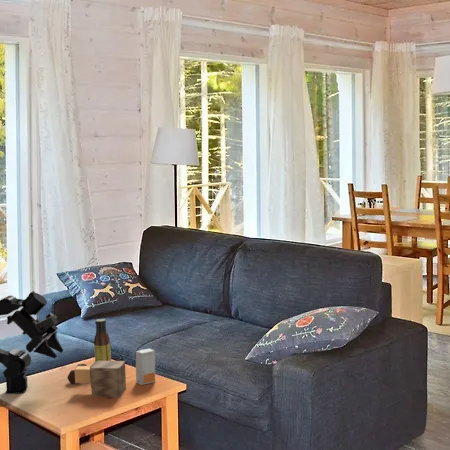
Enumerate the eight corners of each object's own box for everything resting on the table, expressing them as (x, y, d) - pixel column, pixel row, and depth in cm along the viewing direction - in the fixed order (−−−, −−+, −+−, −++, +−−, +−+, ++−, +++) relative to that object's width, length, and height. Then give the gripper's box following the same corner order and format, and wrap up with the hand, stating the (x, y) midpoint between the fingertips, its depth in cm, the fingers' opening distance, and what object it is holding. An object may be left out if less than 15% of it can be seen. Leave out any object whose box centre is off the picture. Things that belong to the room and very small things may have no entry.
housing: (90, 396, 256) (89, 367, 255) (97, 388, 265) (96, 360, 264) (119, 397, 255) (119, 368, 254) (125, 388, 264) (125, 360, 263)
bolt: (85, 376, 285) (77, 387, 270) (74, 370, 285) (65, 381, 270) (92, 363, 285) (84, 374, 270) (81, 357, 285) (72, 367, 270)
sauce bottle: (106, 365, 292) (104, 317, 290) (114, 369, 288) (113, 319, 286) (91, 369, 288) (90, 319, 286) (99, 372, 284) (98, 322, 282)
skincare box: (142, 385, 267) (141, 353, 266) (135, 382, 270) (135, 351, 269) (156, 381, 271) (155, 350, 270) (149, 379, 274) (148, 348, 273)
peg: (75, 383, 258) (74, 369, 258) (78, 379, 262) (78, 365, 262) (101, 383, 257) (101, 369, 257) (104, 379, 261) (104, 366, 261)
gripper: (33, 314, 250) (66, 345, 250) (51, 302, 268) (81, 332, 268) (12, 336, 251) (44, 368, 251) (31, 323, 270) (61, 353, 270)
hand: (59, 354), depth 260 cm, fingers open, 7 cm apart
